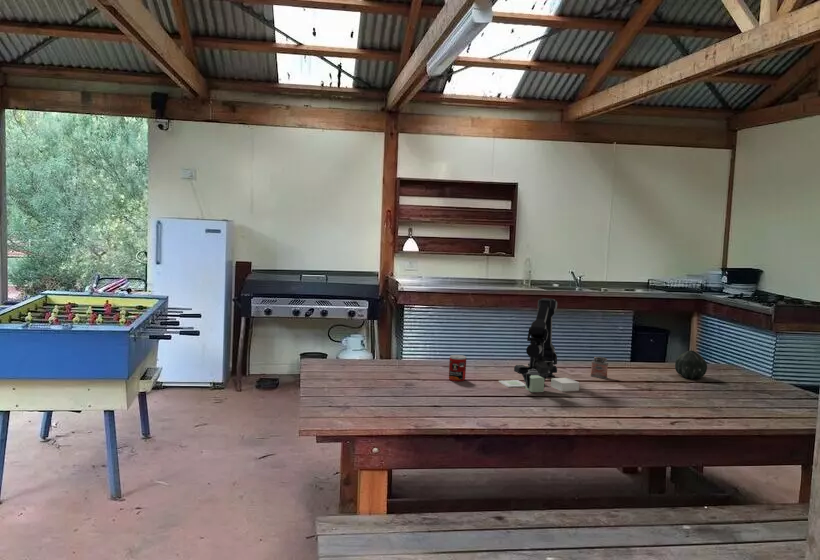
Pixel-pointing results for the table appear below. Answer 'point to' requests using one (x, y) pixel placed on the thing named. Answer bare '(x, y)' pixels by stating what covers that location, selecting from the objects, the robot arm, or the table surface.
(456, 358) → the canned food
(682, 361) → the squash
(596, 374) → the lighter
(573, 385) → the base block
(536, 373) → the charcoal block
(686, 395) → the table surface
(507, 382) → the tile
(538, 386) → the sage block
